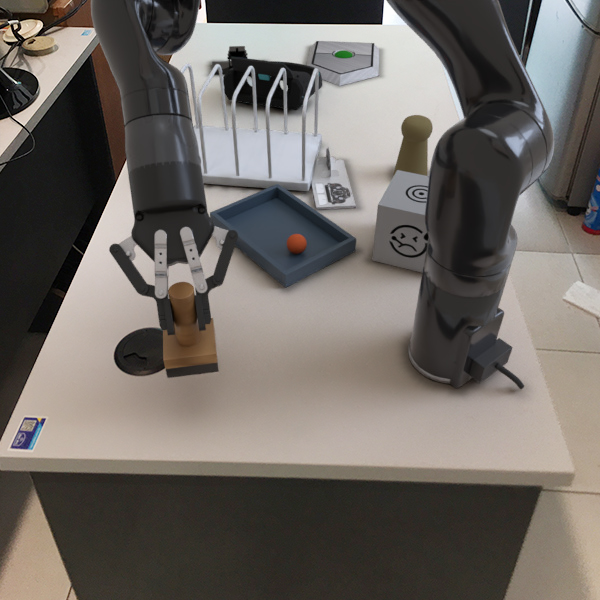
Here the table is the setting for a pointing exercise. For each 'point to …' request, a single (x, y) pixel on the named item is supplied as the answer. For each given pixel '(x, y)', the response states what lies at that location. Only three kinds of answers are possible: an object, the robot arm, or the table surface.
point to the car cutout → (331, 184)
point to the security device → (344, 61)
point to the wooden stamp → (188, 337)
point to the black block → (234, 52)
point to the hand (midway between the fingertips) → (187, 331)
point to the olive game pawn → (414, 145)
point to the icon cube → (402, 222)
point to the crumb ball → (296, 243)
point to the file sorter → (256, 143)
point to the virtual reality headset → (270, 82)
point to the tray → (283, 233)
